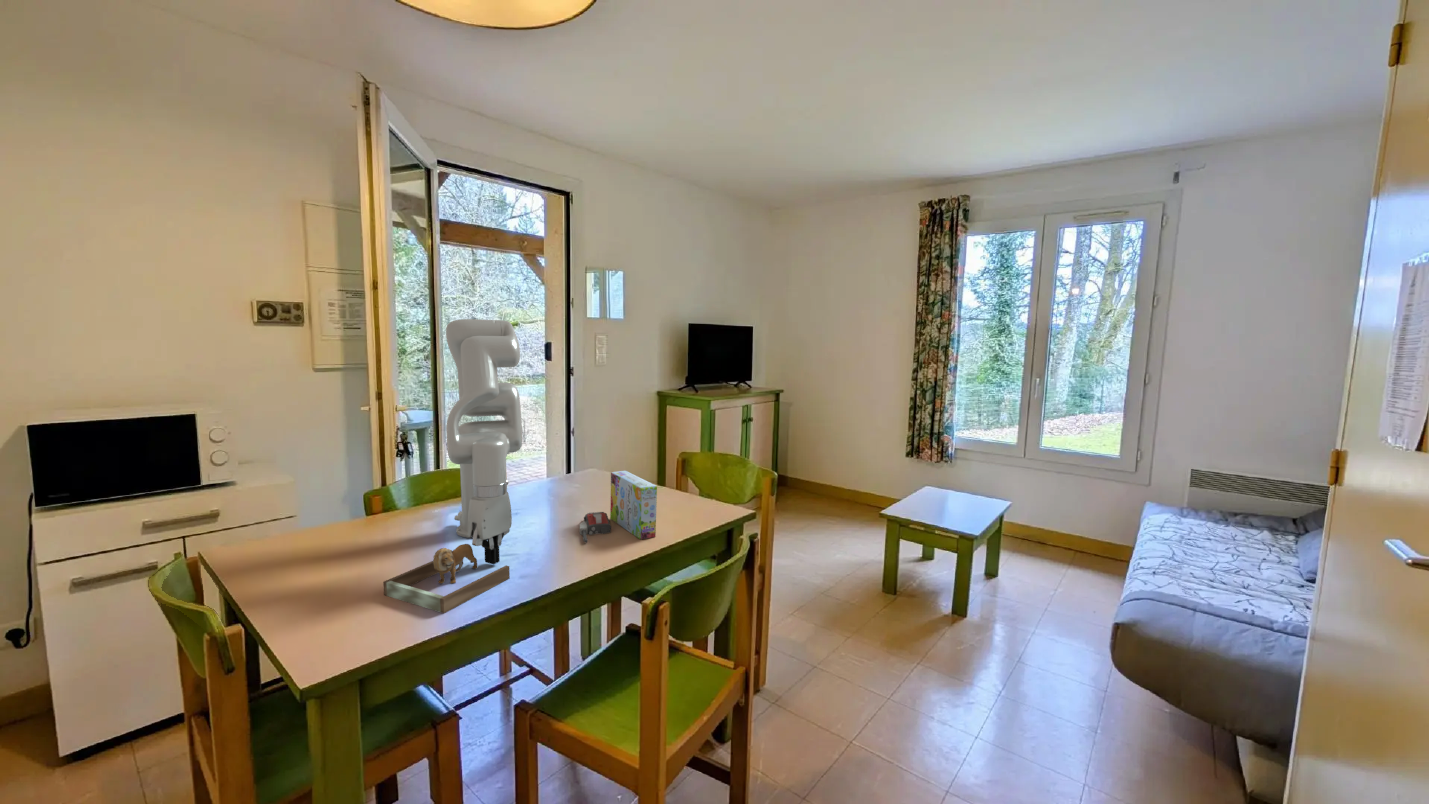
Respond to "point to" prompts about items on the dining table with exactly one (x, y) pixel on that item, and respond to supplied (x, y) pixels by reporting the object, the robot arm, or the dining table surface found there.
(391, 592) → the u-shaped wooden rail
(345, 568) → the dining table surface
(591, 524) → the walkie-talkie
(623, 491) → the snack box
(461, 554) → the lion figurine
